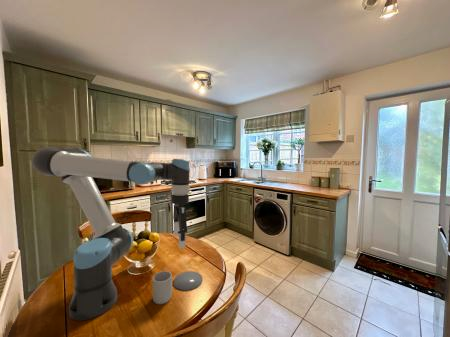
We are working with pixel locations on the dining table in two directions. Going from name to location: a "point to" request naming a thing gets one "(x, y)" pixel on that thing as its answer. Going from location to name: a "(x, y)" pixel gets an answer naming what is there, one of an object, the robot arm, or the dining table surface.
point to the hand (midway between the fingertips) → (179, 241)
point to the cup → (162, 287)
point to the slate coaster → (187, 280)
